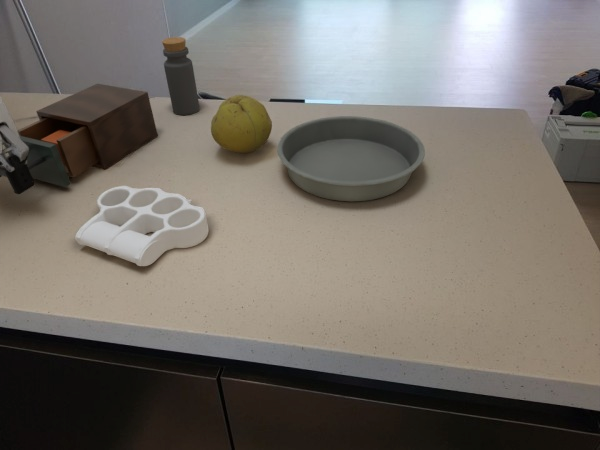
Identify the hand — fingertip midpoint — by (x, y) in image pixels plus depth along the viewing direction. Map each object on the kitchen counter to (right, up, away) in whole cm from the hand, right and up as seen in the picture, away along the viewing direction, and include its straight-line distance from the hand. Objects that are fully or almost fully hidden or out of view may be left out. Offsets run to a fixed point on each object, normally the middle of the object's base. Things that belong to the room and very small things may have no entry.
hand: (8, 183), depth 72 cm
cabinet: (+9, +9, +17) cm, 21 cm away
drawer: (+4, +3, +8) cm, 9 cm away
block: (+5, +5, +9) cm, 11 cm away
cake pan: (+54, +3, +8) cm, 55 cm away
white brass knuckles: (+24, -7, -5) cm, 25 cm away
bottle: (+21, +19, +30) cm, 41 cm away
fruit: (+35, +7, +14) cm, 39 cm away
